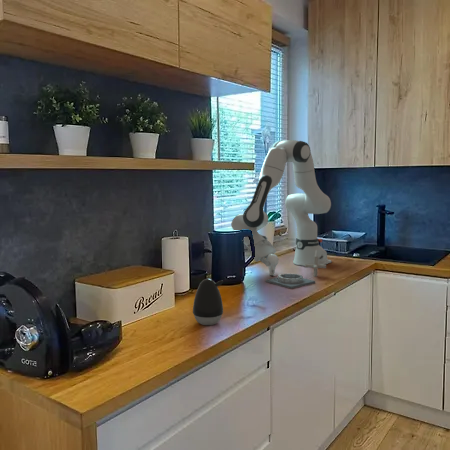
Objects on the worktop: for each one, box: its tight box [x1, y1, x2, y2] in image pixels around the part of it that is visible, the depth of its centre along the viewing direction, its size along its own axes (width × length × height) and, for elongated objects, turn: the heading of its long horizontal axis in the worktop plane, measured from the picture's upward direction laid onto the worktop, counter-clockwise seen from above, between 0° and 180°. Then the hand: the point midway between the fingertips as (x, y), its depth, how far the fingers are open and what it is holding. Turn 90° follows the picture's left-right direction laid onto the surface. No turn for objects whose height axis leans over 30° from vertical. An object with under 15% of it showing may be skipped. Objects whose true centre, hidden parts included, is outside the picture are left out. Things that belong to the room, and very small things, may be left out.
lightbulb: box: [265, 253, 279, 277], centre depth 221 cm, size 6×6×11 cm
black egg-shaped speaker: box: [192, 278, 224, 326], centre depth 152 cm, size 10×10×15 cm
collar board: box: [265, 273, 316, 290], centre depth 208 cm, size 16×16×3 cm
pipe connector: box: [304, 256, 327, 278], centre depth 220 cm, size 10×10×10 cm
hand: (272, 263), depth 221 cm, fingers open, 8 cm apart
